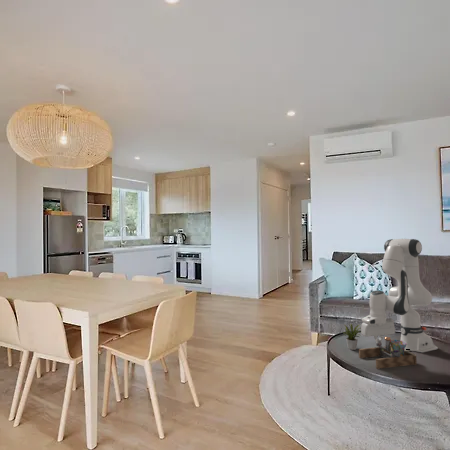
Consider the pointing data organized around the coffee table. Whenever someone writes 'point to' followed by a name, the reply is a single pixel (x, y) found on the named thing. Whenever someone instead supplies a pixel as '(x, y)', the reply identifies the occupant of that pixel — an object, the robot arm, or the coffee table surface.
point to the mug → (397, 346)
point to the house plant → (352, 337)
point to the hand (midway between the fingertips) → (378, 342)
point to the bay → (388, 362)
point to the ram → (387, 349)
